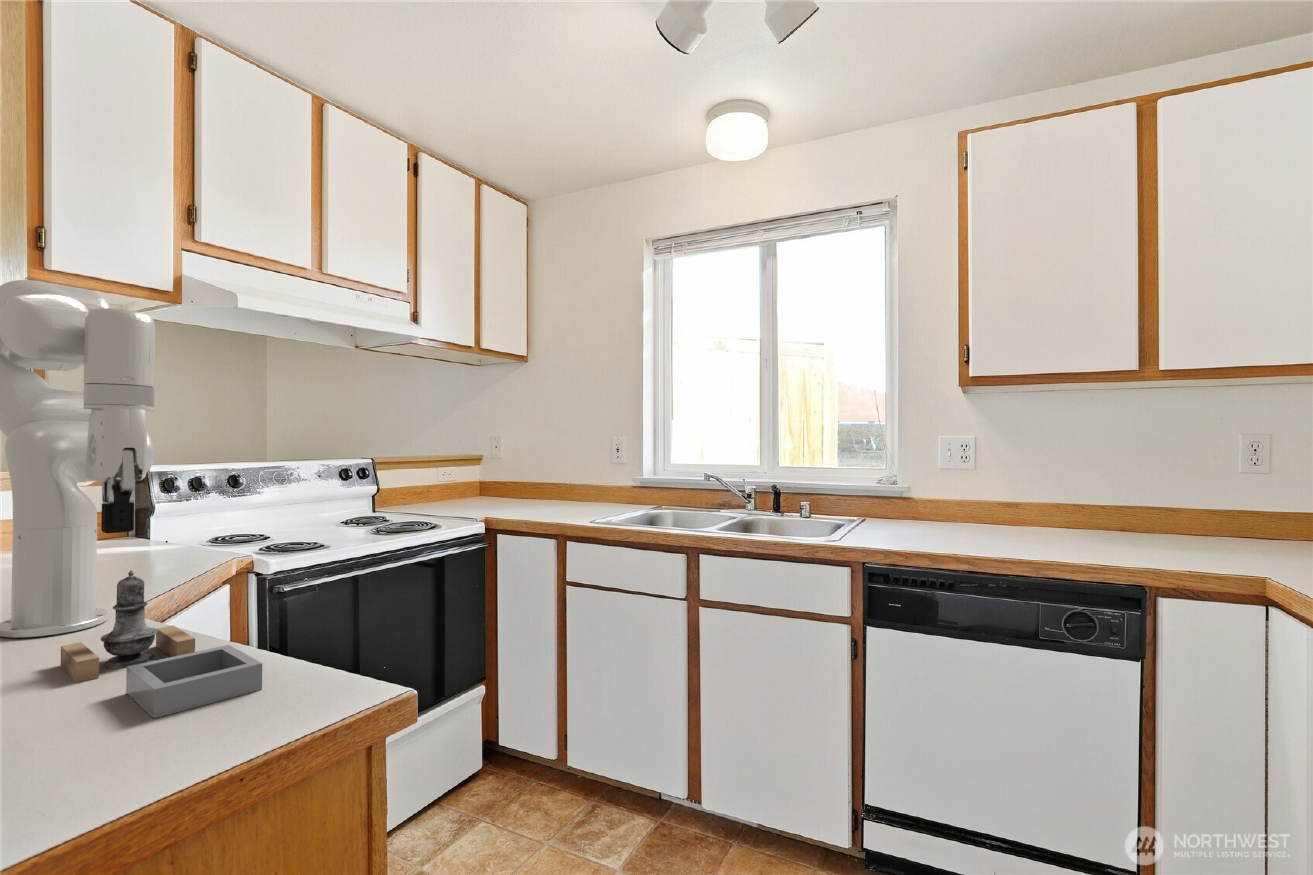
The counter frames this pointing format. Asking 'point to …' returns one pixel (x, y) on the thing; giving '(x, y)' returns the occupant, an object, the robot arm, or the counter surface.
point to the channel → (86, 663)
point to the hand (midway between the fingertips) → (117, 531)
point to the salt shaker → (129, 626)
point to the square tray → (192, 680)
